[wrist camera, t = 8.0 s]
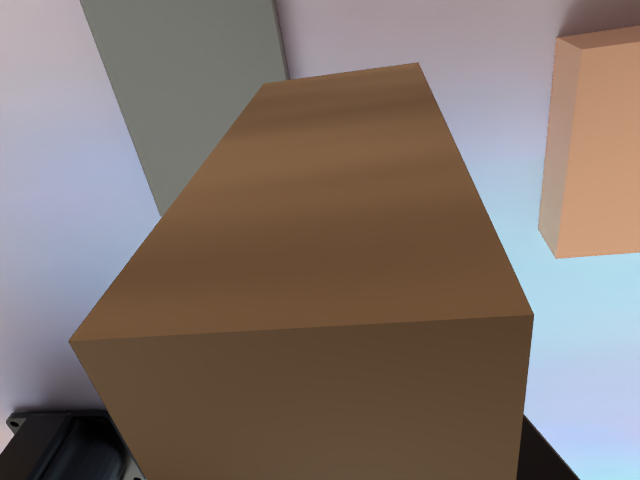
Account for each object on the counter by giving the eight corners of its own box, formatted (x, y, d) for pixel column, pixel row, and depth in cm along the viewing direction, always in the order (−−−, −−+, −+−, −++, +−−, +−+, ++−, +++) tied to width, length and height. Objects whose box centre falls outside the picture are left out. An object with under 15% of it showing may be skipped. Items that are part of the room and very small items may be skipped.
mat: (310, 194, 18) (308, 201, 18) (166, 209, 19) (160, 216, 19) (234, -222, 12) (228, -229, 12) (27, -170, 13) (14, -175, 13)
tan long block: (433, 455, 12) (480, 805, 7) (340, 457, 13) (323, 791, 8) (417, 62, 7) (533, 313, 2) (263, 83, 8) (68, 340, 3)
